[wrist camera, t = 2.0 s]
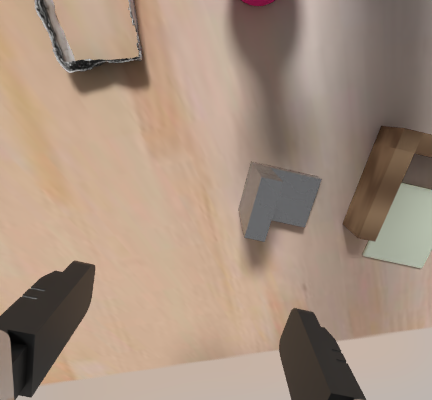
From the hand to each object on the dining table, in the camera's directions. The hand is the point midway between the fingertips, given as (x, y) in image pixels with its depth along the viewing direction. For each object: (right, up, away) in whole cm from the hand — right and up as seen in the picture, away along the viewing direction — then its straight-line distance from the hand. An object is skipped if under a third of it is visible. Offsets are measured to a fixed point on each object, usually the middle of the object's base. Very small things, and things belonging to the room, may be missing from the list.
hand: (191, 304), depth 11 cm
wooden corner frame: (+25, +5, +22) cm, 33 cm away
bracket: (+8, +5, +22) cm, 24 cm away
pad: (+25, +1, +23) cm, 34 cm away
